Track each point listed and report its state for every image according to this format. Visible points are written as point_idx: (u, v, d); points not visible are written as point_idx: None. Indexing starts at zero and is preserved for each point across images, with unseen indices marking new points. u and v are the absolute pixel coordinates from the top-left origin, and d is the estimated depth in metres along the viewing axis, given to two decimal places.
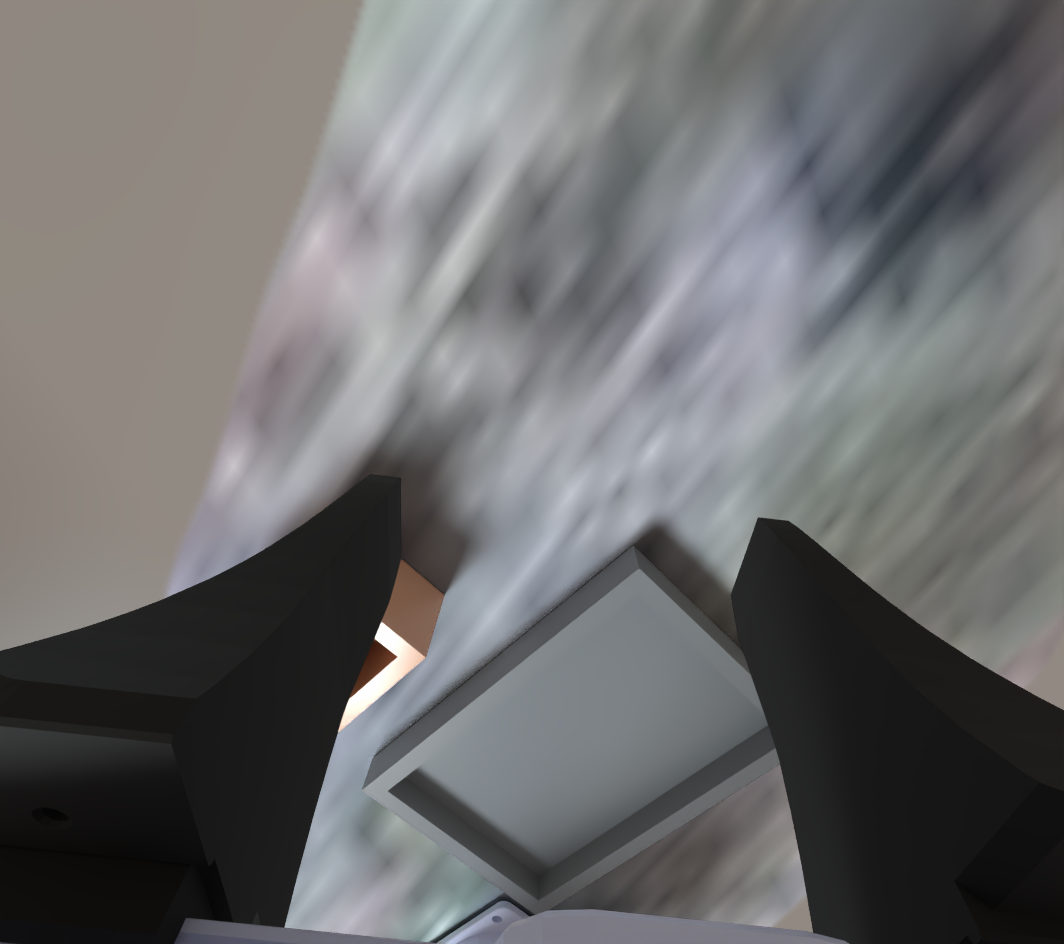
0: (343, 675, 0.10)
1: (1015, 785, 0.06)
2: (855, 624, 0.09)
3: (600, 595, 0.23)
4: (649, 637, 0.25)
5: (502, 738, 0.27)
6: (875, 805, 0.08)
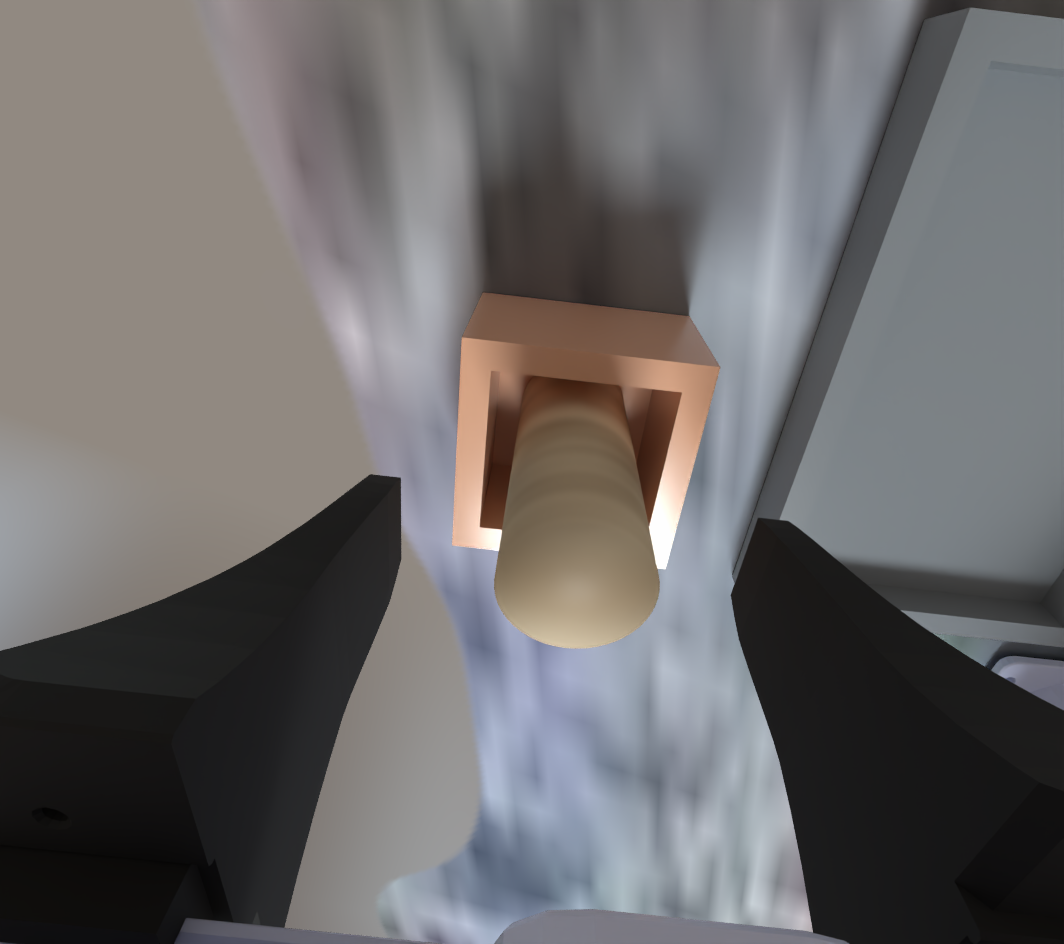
0: (343, 675, 0.10)
1: (1015, 785, 0.06)
2: (855, 624, 0.09)
3: (922, 118, 0.13)
4: (1039, 147, 0.14)
5: (884, 453, 0.18)
6: (875, 805, 0.08)
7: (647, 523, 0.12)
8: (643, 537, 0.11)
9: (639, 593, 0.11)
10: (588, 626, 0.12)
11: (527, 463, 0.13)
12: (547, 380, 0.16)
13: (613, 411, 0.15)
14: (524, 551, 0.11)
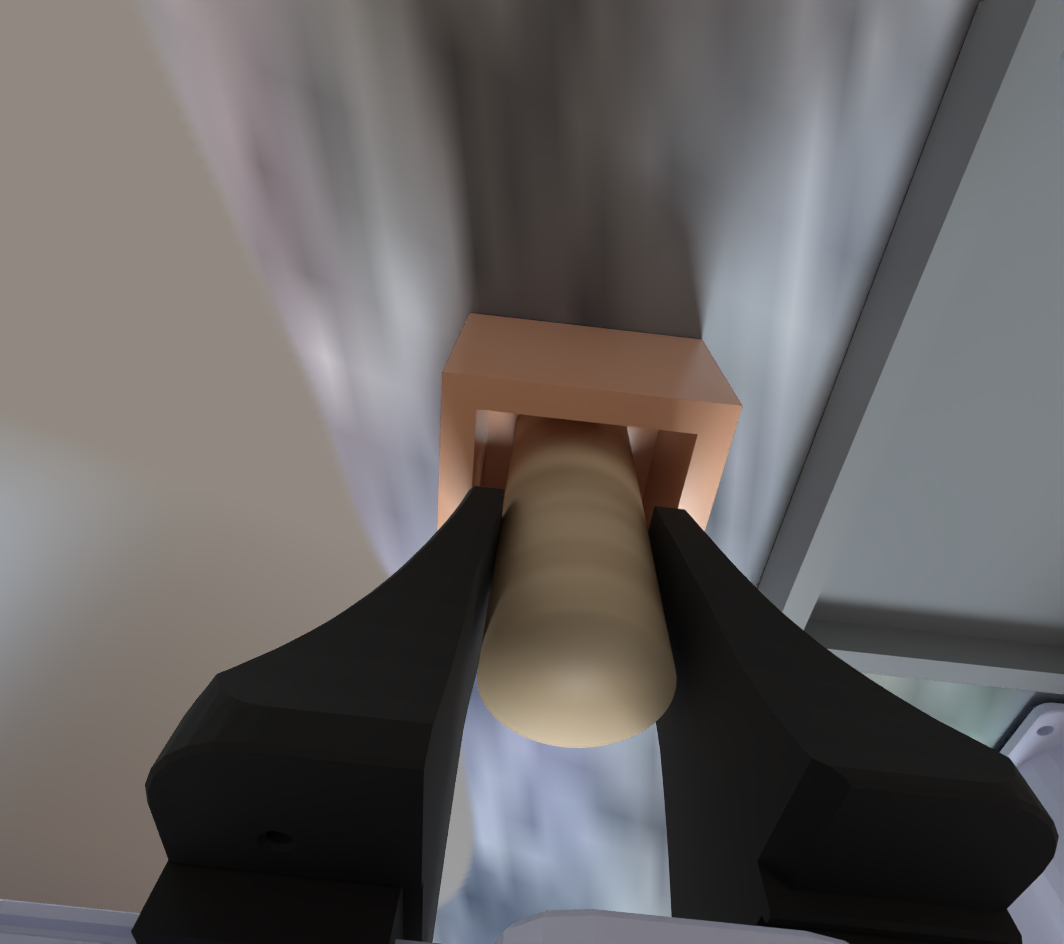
0: (467, 688, 0.10)
1: (798, 762, 0.06)
2: (711, 608, 0.09)
3: (978, 117, 0.11)
4: None
5: (919, 490, 0.16)
6: (714, 788, 0.08)
7: (660, 598, 0.10)
8: (657, 624, 0.09)
9: (652, 689, 0.09)
10: (590, 724, 0.10)
11: (518, 521, 0.11)
12: None
13: (617, 452, 0.13)
14: (513, 643, 0.09)
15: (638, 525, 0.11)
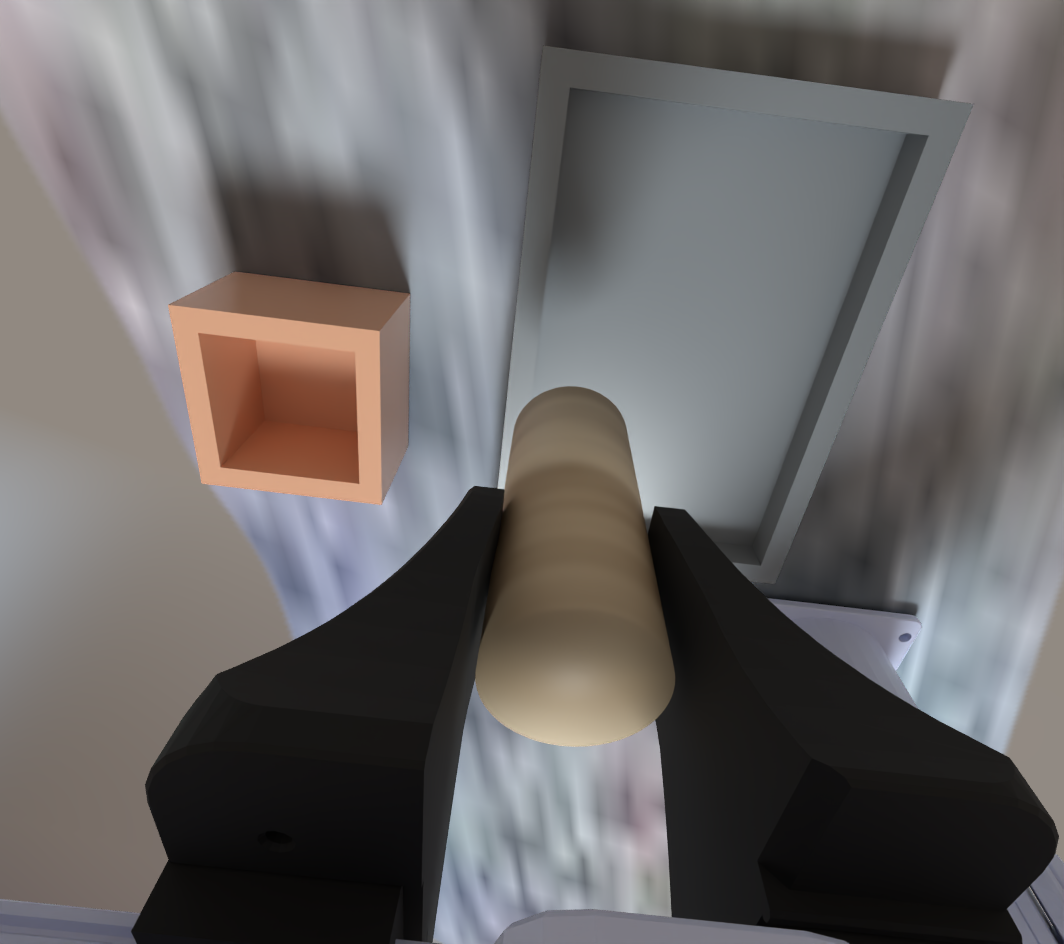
0: (467, 688, 0.10)
1: (797, 763, 0.06)
2: (710, 608, 0.09)
3: (534, 131, 0.17)
4: (650, 155, 0.18)
5: None
6: (714, 788, 0.08)
7: (659, 597, 0.10)
8: (655, 622, 0.09)
9: (650, 688, 0.09)
10: (588, 723, 0.10)
11: (517, 519, 0.11)
12: (541, 413, 0.14)
13: (616, 451, 0.13)
14: (511, 640, 0.09)
15: (637, 523, 0.11)
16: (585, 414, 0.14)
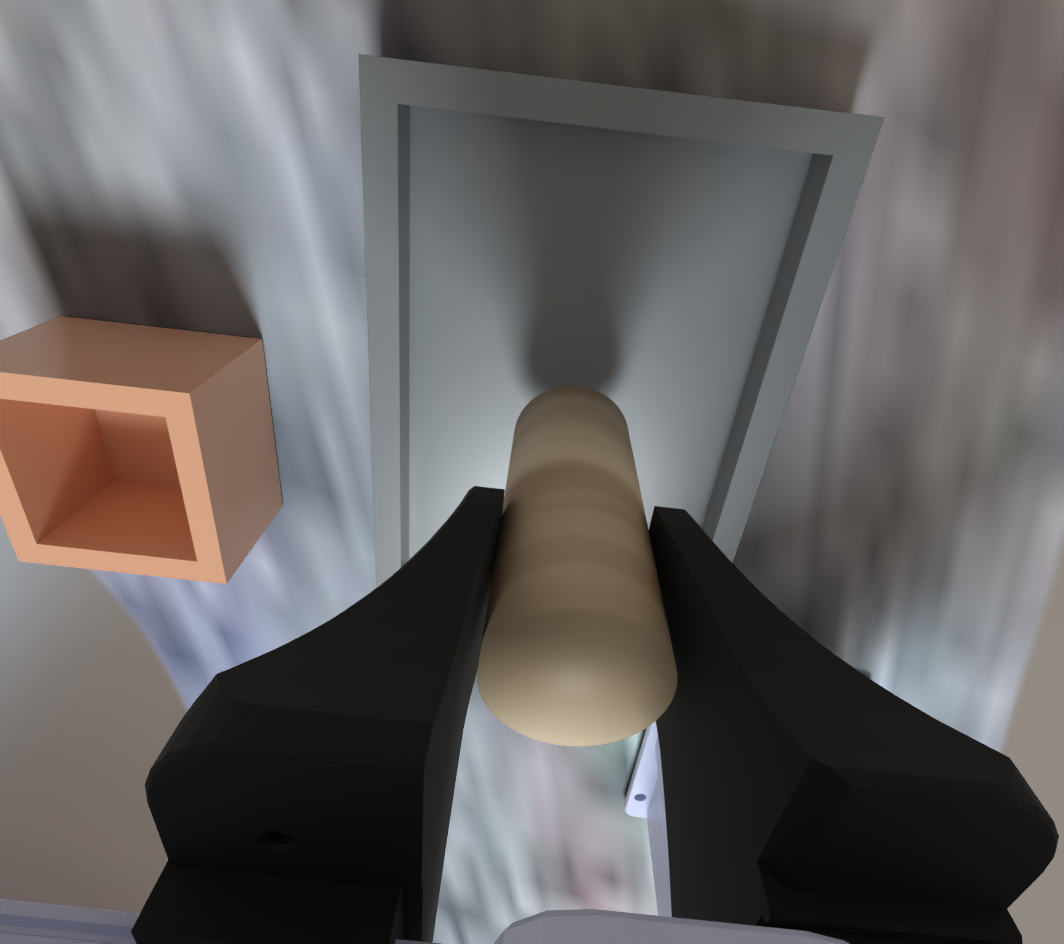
0: (467, 688, 0.10)
1: (798, 762, 0.06)
2: (710, 608, 0.09)
3: (365, 156, 0.14)
4: (514, 181, 0.15)
5: (477, 469, 0.19)
6: (714, 788, 0.08)
7: (661, 596, 0.10)
8: (657, 621, 0.09)
9: (652, 687, 0.09)
10: (591, 722, 0.10)
11: (518, 519, 0.11)
12: (542, 412, 0.14)
13: (618, 450, 0.13)
14: (513, 640, 0.09)
15: (638, 523, 0.11)
16: (586, 413, 0.14)
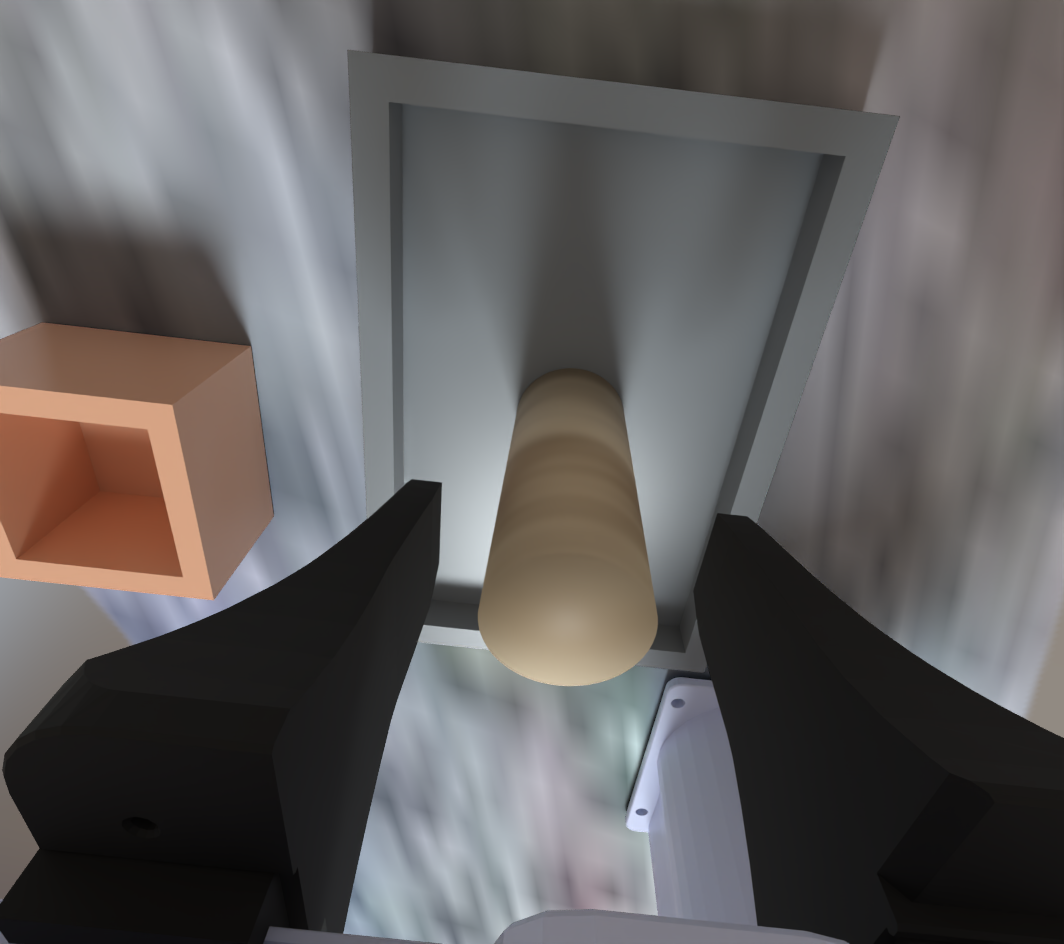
0: (392, 680, 0.10)
1: (930, 776, 0.06)
2: (798, 618, 0.09)
3: (356, 157, 0.13)
4: (511, 183, 0.14)
5: (474, 480, 0.18)
6: (812, 798, 0.08)
7: (645, 551, 0.11)
8: (640, 568, 0.10)
9: (635, 629, 0.10)
10: (580, 663, 0.11)
11: (517, 483, 0.12)
12: (542, 392, 0.16)
13: (611, 425, 0.14)
14: (510, 583, 0.10)
15: (628, 488, 0.12)
16: (583, 392, 0.15)
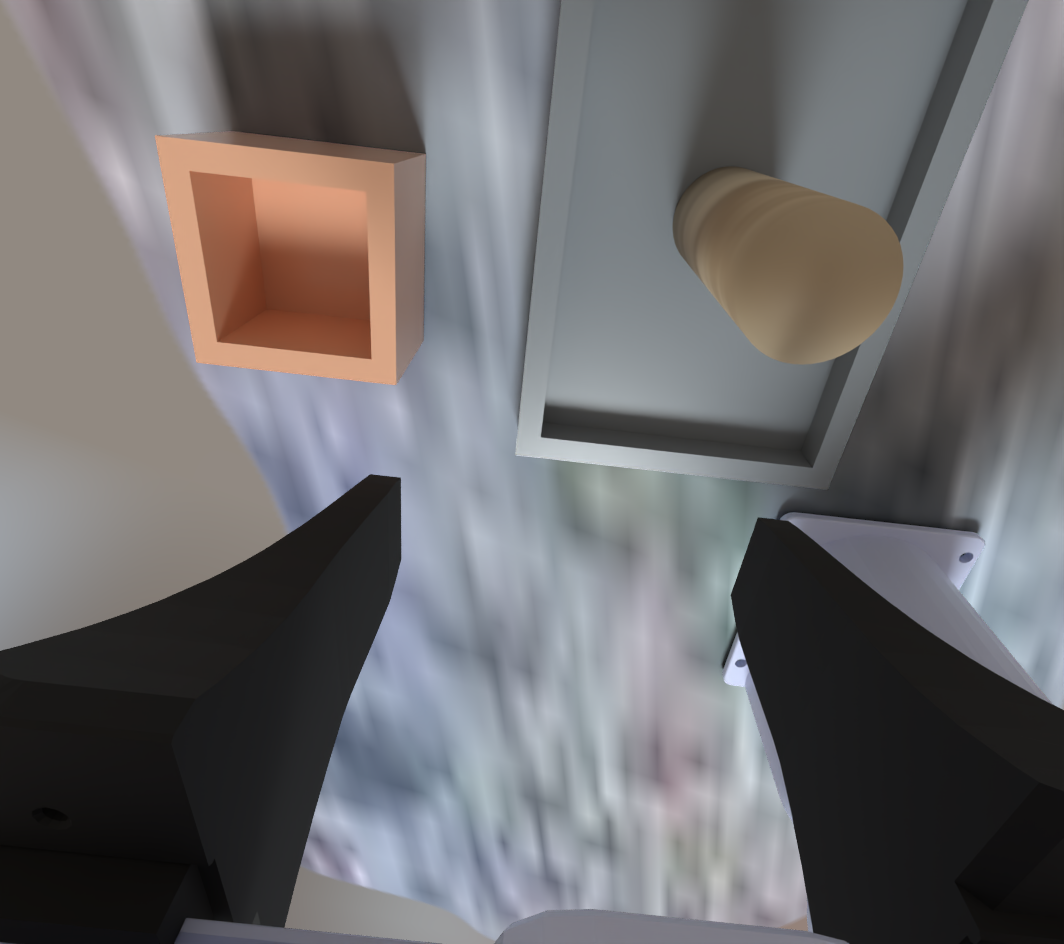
0: (343, 675, 0.10)
1: (1015, 785, 0.06)
2: (855, 624, 0.09)
3: None
4: None
5: (624, 291, 0.20)
6: (875, 805, 0.08)
7: None
8: None
9: (879, 292, 0.12)
10: (820, 336, 0.12)
11: (736, 206, 0.13)
12: (713, 177, 0.17)
13: None
14: (776, 241, 0.11)
15: None
16: (756, 172, 0.16)
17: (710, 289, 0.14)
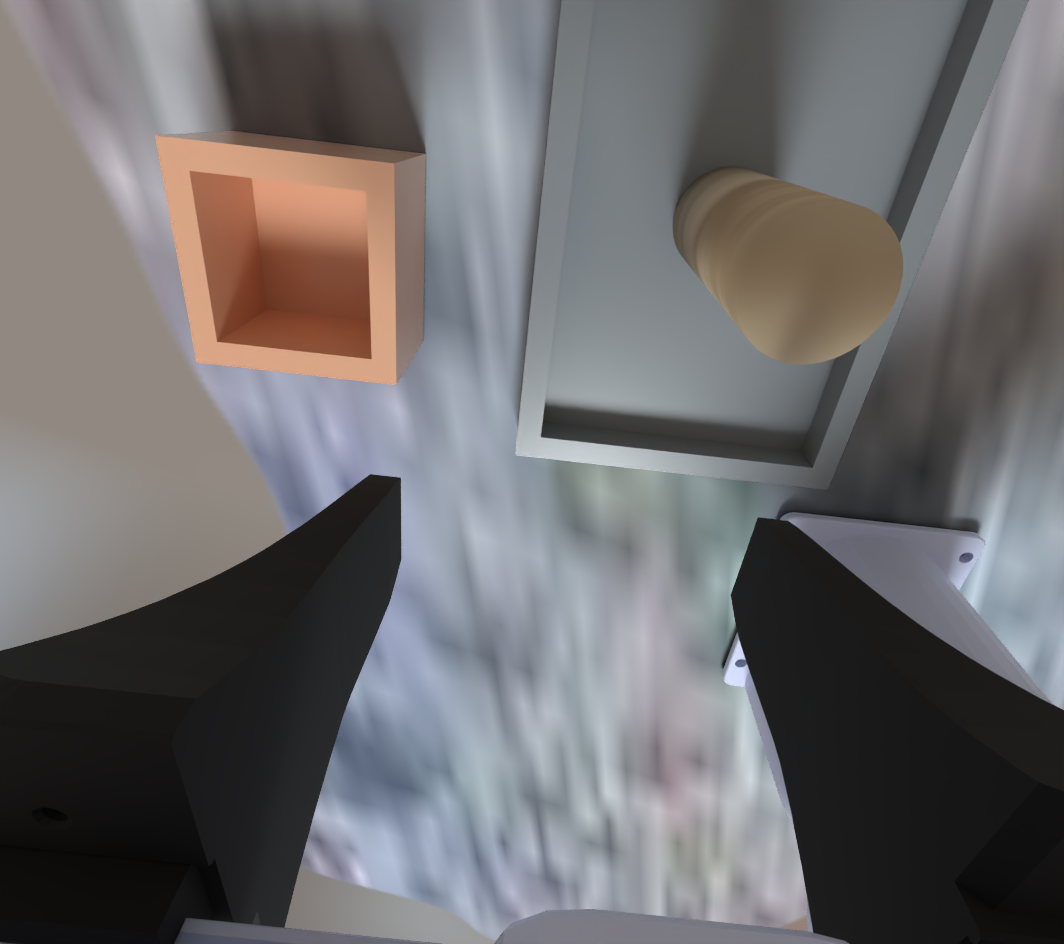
0: (343, 675, 0.10)
1: (1015, 785, 0.06)
2: (855, 624, 0.09)
3: None
4: None
5: (625, 291, 0.20)
6: (875, 805, 0.08)
7: None
8: None
9: (879, 292, 0.12)
10: (820, 336, 0.12)
11: (737, 206, 0.13)
12: (713, 177, 0.17)
13: None
14: (776, 241, 0.11)
15: None
16: (756, 172, 0.16)
17: (710, 289, 0.14)
